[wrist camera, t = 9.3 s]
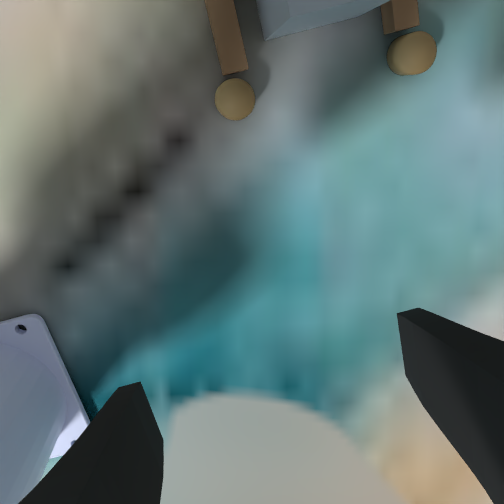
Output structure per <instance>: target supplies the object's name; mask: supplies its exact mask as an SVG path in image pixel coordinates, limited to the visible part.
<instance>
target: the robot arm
mask: <svg viewBox="0 0 504 504" xmlns="http://www.w3.org/2000/svg"><path fill="white" fill-rule="evenodd" d="M397 318H398V325H399V332H400V339H401V346H402V353H403V360H404V368H405V375H406V377H407V378H408V380H409V382H410V384H411V386H412V388H413V389H414V391H415V393H416V395H417V396H418V398H419V400H420V402H421V403H422V405H423V407H424V408H425V409H426V411H427V412H428V413H429V415H430V416H431V417H432V419H433V420H434V422H435V423H436V424H437V426H438V427H439V428H440V430H441V431H442V432H443V434H444V435H445V436H446V438H447V439H448V440H449V441H450V443H451V444H452V445H453V447H454V448H455V449H456V451H457V452H458V453H459V455H460V456H461V457H462V459H463V460H464V461H465V463H466V464H467V465H468V467H469V468H470V469H471V471H472V472H473V473H474V475H475V476H476V477H477V479H478V480H479V482H480V483H481V485H482V486H483V488H484V489H485V490H486V492H487V494H488V495H489V497H490V499H491V500H492V502H493V503H494V504H504V341H501V340H499V339H496V338H493V337H491V336H488V335H485V334H483V333H480V332H477V331H475V330H472V329H470V328H468V327H465V326H463V325H460V324H458V323H455V322H453V321H451V320H448V319H446V318H444V317H441V316H439V315H436V314H434V313H431V312H429V311H426V310H424V309H421V308H415V309H411V310H408V311H404V312H400V313H397ZM20 324H22V325H24V326H25V327H26V329H27V330H21V329H20V328H19V327H18V325H20ZM73 440H76V441H75V442H74V441H73ZM62 455H63V456H62ZM58 456H62V457H61V459H60V460H59V461H58V462H57V463H56V464H55V466H54V467H53V468H52V469H51V470H50V471H49V472H48V474H47V475H46V476H45V477H44V478H43V479H42V480H41V481H40V479H41V477H42V475H43V472H44V470H45V467H46V465H47V463H48V460H49V459H50V458H54V457H58ZM163 462H164V455H163V438H162V435H161V433H160V430H159V428H158V425H157V422H156V420H155V417H154V415H153V412H152V410H151V407H150V405H149V402H148V399H147V397H146V394H145V392H144V389H143V387H142V384H141V382H137V383H133V384H129V385H126V386H122V387H119V388H118V389H117V390H116V391H115V392H114V393H113V394H112V396H111V397H110V398H109V399H108V401H107V402H106V403H105V405H104V406H103V407H102V408H101V410H100V411H99V412H98V414H97V415H96V416H95V417H94V419H93V420H92V421H91V422H90V420H89V418H88V416H87V413H86V411H85V409H84V407H83V405H82V402H81V400H80V398H79V396H78V394H77V391H76V389H75V387H74V385H73V383H72V380H71V378H70V376H69V374H68V372H67V370H66V367H65V365H64V363H63V361H62V359H61V356H60V354H59V352H58V350H57V348H56V345H55V343H54V341H53V339H52V337H51V334H50V332H49V330H48V328H47V326H46V324H45V321H44V320H43V318H42V317H41V316H39V315H37V314H28V315H24V316H20V317H16V318H13V319H9V320H5V321H1V322H0V504H160V497H161V490H162V482H163Z"/></svg>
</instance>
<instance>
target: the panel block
mask: <svg viewBox="0 0 504 504" xmlns="http://www.w3.org/2000/svg"><path fill="white" fill-rule="evenodd" d="M388 1H390V0H256V4H257V9H258V13H259V18H260V23H261V28H262V32H263V37H264V41H266V40H270V39H274V38H278V37H281V36H285V35H289V34H293V33H297V32H301V31H305V30H309V29H313V28H316V27H320V26H324V25H328V24H332V23H336V22H340V21H344V20H348V19H351V18H355V17H358V16H360V15H362V14H364V13H366V12H368V11H370V10H372V9H374V8H376V7H378V6H380V5H382V4H384V3H386V2H388Z"/></svg>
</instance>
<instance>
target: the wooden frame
mask: <svg viewBox="0 0 504 504" xmlns="http://www.w3.org/2000/svg"><path fill="white" fill-rule="evenodd" d="M204 1H205V5H206V9H207V13H208V17H209V21H210V25H211V29H212V33H213V37H214V42H215V46H216V50H217V54H218V58H219V62H220V66H221V70H222V74H223V76H225V75H229V74H233V73H237V72H241V71H245V70H247V69H249V67H248V63H247V58H246V54H245V49H244V45H243V41H242V36H241V32H240V27H239V23H238V18H237V14H236V9H235V5H234V0H204ZM380 7H381V15H382V23H383V31H384V35H386V34H390V33H394V32H397V31H401V30H405V29H409V28H412V27H415V26H418V25H420V23H419V13H418V2H417V0H390V1H388V2H386V3H384V4H382V5H380ZM436 52H437V48H436V43H435V41H434V39H433V37H432V36H431V35H430V34H428V33H426V32H423V31H416V32H412V33H409V34H406V35H402V36H400V37H398V38H396V39H395V40H394V41H393V42H392V43H391V45H390V47H389V49H388V52H387V63H388V65H389V68H390V69H391V70H392V71H393V72H394V73H395V74H398V75H414V74H420V73H423V72H425V71H426V70H428V69H429V68H430V67H431V65H432V64H433V62H434V60H435V57H436ZM215 105H216V107H217V109H218V111H219V112H220V113H221V114H222V115H223V116H224V117H225V118H227V119H230V120H241V119H244V118H245V117H247V116H248V115H249V114H250V113H251V112H252V110H253V108H254V105H255V94H254V91H253V89H252V87H251V86H250V85H249V84H248V83H247V82H246V81H244V80H242V79H238V78H232V79H228V80H226V81H224V82H223V83H222V84H221V85H220V86H219V87H218V88H217V90H216V93H215Z"/></svg>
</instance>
